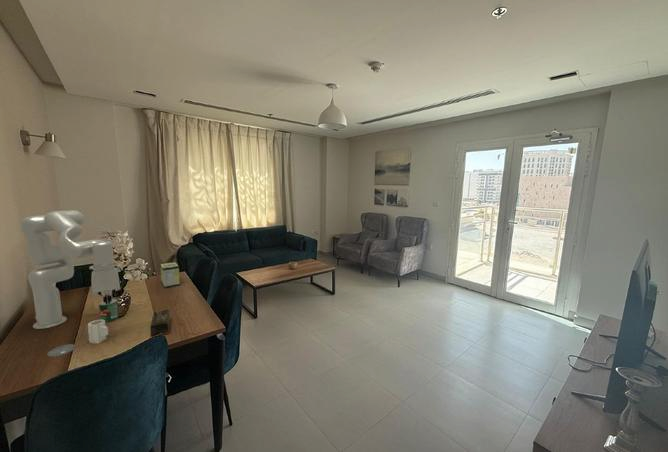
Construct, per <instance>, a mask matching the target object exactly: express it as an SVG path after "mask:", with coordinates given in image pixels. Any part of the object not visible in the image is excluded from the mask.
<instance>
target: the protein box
mask: <svg viewBox="0 0 668 452" xmlns="http://www.w3.org/2000/svg"><path fill="white" fill-rule="evenodd" d="M159 266H160V268H159V269H160V279H161V280H160V281H161V285H162V286H163V289H169V288H173V287H179V285H180V266H179V265H178V263H176V261H173V262H166V263H160V265H159ZM180 286H181V285H180Z"/></svg>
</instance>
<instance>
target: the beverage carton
mask: <svg viewBox="0 0 668 452" xmlns="http://www.w3.org/2000/svg"><path fill="white" fill-rule="evenodd" d="M170 313H171V312H170V309H166V310H165V309H164V310H156V311H153V313H152V318H151V321H150V326H149V327H150V330H149V331H150V338H153V336H154V337H156V336H155V335H158V334H160V333H163V334H165V335H168V334H169V330H170V316H171V315H170Z"/></svg>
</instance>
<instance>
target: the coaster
mask: <svg viewBox="0 0 668 452" xmlns="http://www.w3.org/2000/svg"><path fill="white" fill-rule="evenodd" d="M75 349H76V344H72V343H71V344H70V343H69V344H64V345H60V346H57V347H54V348H52V349H51V350H49V351H48V352H47V356H48V357H53V358H54V357H59V356H63V355H66V354H69V353H71V352H72V351H74V350H75Z"/></svg>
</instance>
